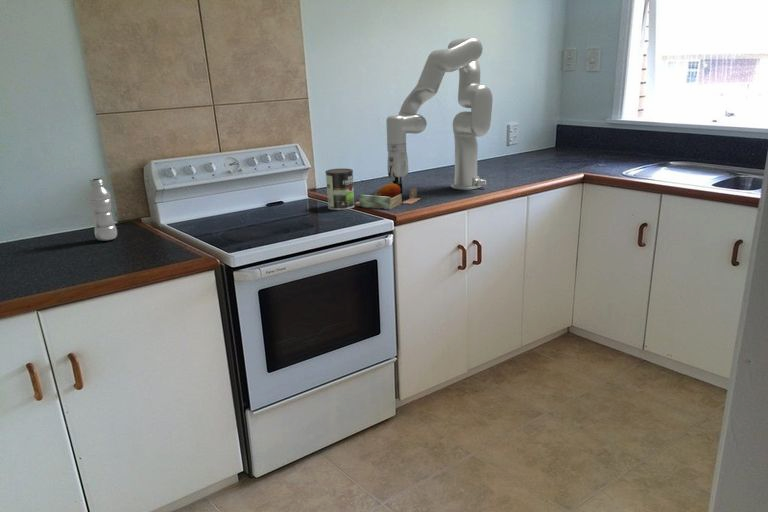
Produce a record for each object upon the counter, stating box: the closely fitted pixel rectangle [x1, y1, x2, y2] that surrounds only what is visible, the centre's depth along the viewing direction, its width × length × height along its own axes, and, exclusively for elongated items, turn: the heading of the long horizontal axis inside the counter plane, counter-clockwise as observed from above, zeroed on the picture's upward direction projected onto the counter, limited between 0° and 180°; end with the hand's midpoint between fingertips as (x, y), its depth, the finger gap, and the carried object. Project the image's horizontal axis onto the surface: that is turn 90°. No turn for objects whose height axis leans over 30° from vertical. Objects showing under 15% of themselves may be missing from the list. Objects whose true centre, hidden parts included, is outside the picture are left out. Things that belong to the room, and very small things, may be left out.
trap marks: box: [354, 197, 422, 205], centre depth 231 cm, size 21×16×1 cm
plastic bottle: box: [87, 177, 118, 242], centre depth 189 cm, size 6×7×20 cm
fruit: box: [379, 182, 401, 198], centre depth 231 cm, size 8×8×8 cm
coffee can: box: [325, 168, 355, 211], centre depth 223 cm, size 10×10×14 cm
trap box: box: [358, 187, 418, 210], centre depth 231 cm, size 13×24×4 cm, turn 152°
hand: (398, 193), depth 238 cm, fingers closed
